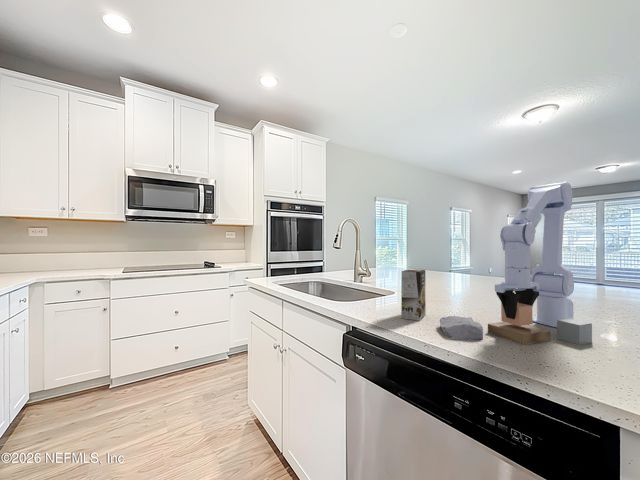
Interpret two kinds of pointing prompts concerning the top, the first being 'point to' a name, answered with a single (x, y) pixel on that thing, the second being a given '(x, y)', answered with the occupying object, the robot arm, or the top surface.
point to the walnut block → (519, 333)
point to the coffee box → (413, 295)
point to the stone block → (461, 327)
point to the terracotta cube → (519, 315)
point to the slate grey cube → (574, 331)
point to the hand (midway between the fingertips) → (517, 317)
